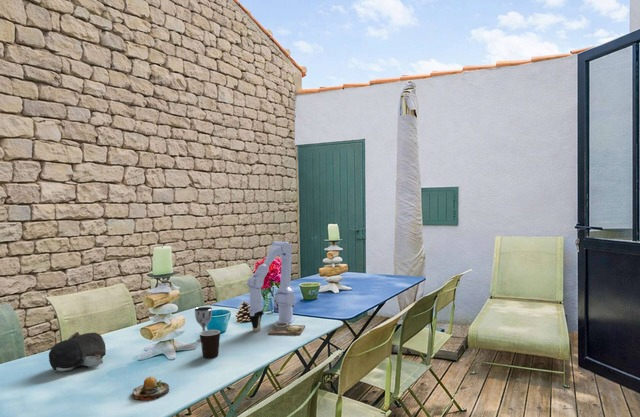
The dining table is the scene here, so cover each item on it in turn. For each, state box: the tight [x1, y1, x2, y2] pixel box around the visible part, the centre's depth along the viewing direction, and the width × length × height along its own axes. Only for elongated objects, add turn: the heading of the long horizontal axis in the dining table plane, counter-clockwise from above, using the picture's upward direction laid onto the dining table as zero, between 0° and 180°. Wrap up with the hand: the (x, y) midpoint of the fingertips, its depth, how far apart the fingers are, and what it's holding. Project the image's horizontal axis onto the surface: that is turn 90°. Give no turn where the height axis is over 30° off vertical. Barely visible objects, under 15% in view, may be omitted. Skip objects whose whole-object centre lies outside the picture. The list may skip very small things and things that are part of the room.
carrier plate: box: [267, 322, 306, 336], centre depth 222 cm, size 14×16×3 cm
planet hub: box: [252, 316, 261, 333], centre depth 224 cm, size 4×4×7 cm
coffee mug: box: [199, 329, 221, 360], centre depth 189 cm, size 12×9×10 cm
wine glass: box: [194, 306, 213, 343], centre depth 210 cm, size 8×8×15 cm
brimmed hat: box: [131, 376, 170, 402], centre depth 151 cm, size 12×12×8 cm
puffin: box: [48, 331, 107, 372], centre depth 178 cm, size 20×21×13 cm
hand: (256, 326), depth 224 cm, fingers closed on planet hub, 4 cm apart
